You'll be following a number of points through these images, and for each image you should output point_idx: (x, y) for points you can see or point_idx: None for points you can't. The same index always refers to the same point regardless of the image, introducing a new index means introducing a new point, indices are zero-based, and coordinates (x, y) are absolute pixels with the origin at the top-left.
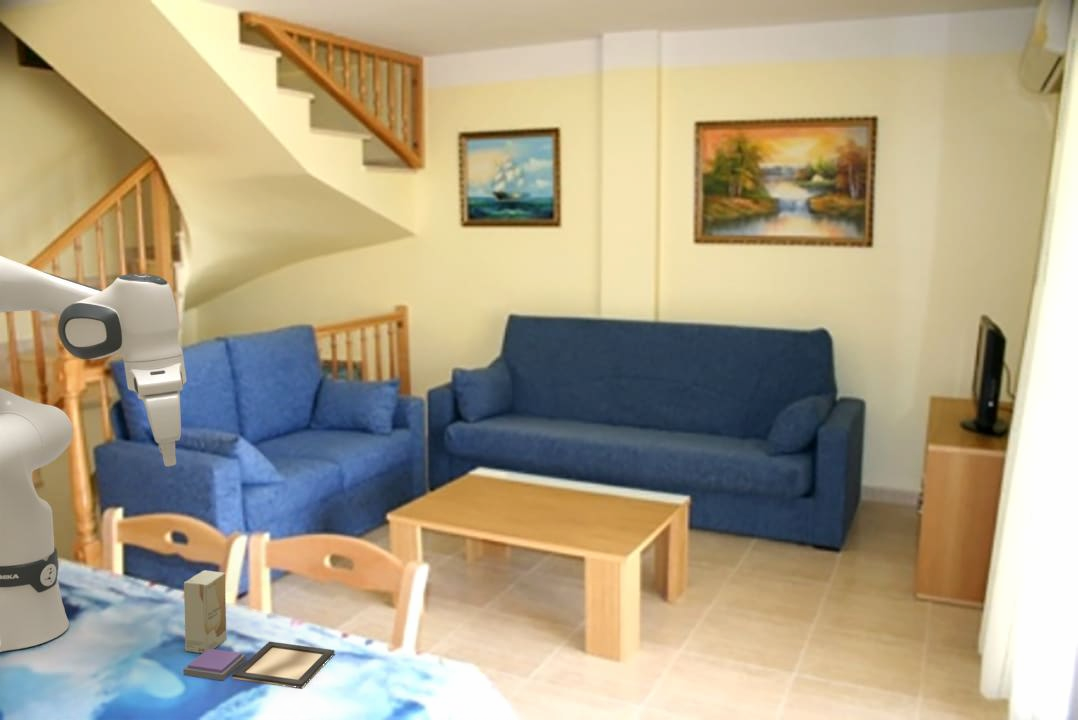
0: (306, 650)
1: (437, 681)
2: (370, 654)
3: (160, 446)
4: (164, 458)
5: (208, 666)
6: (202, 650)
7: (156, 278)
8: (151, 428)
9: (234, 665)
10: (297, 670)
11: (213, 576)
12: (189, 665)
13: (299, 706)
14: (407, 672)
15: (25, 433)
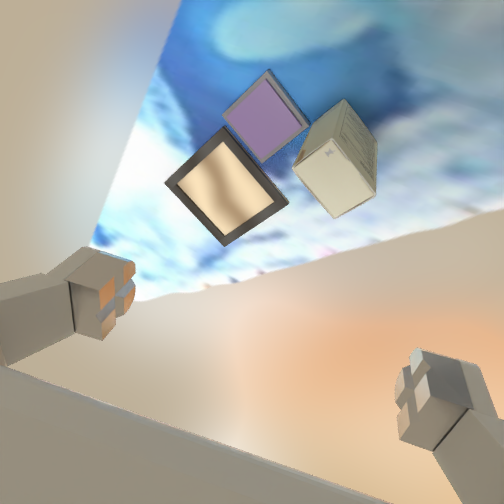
0: (240, 225)
1: (134, 277)
2: (207, 268)
3: (424, 385)
4: (57, 269)
5: (245, 105)
6: (317, 119)
7: None
8: (175, 470)
9: (242, 139)
10: (203, 195)
11: (327, 195)
12: (263, 81)
13: (132, 161)
14: (158, 270)
15: None
